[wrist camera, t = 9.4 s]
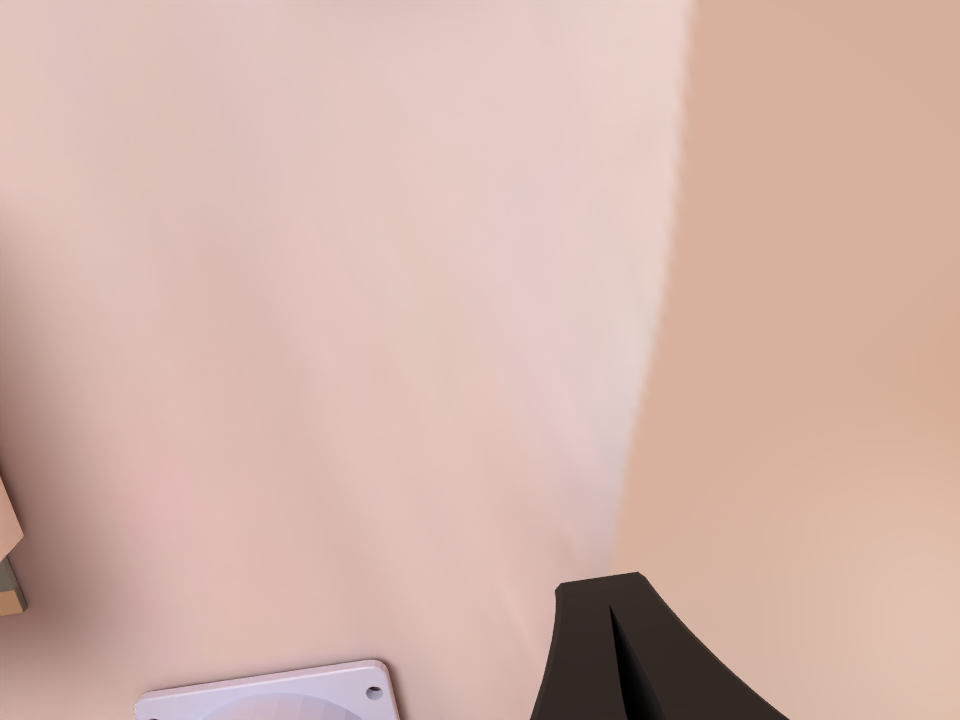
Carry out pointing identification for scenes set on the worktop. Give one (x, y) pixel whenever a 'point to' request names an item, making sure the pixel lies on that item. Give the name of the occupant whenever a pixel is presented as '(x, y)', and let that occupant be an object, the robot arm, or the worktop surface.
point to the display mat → (10, 591)
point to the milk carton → (8, 524)
